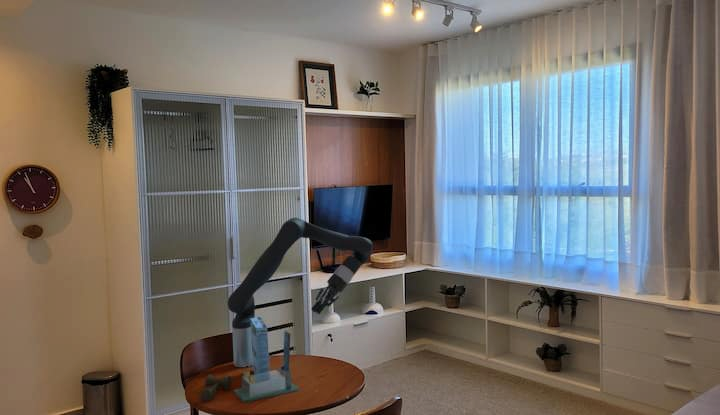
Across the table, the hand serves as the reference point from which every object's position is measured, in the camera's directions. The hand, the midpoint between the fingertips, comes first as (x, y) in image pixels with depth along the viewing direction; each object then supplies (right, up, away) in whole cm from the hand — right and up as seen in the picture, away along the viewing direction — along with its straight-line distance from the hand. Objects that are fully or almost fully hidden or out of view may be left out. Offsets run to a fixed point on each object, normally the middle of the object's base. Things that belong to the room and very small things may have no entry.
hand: (315, 311), depth 228 cm
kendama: (-38, -30, -9) cm, 49 cm away
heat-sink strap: (-11, -15, -6) cm, 20 cm away
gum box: (-23, -29, +8) cm, 38 cm away
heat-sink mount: (-18, -29, -9) cm, 36 cm away
